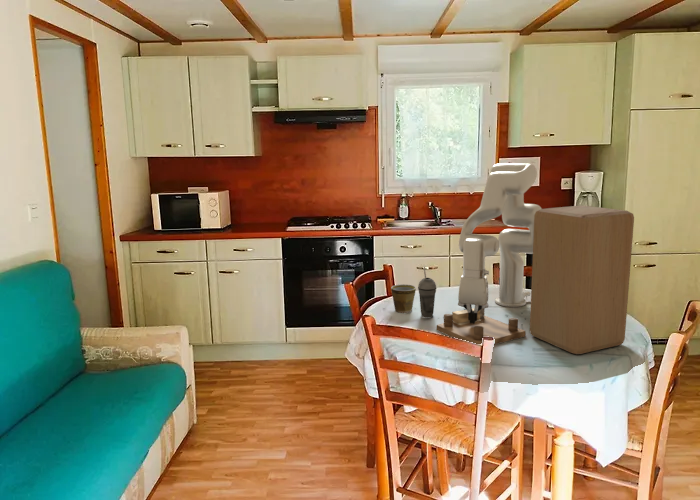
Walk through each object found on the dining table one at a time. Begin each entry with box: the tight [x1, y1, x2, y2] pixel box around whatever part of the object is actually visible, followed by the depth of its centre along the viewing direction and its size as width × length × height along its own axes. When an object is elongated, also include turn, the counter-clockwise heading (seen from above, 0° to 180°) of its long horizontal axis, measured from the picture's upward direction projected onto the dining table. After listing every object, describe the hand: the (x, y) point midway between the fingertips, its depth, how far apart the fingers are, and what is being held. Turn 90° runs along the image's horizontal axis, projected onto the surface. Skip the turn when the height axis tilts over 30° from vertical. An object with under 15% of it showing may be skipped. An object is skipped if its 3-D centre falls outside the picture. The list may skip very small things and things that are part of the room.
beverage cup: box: [417, 266, 438, 319], centre depth 213 cm, size 7×7×20 cm
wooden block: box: [529, 204, 635, 355], centre depth 181 cm, size 22×22×45 cm
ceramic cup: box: [390, 284, 417, 314], centre depth 223 cm, size 13×10×10 cm
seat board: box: [435, 308, 527, 345], centre depth 194 cm, size 22×22×6 cm
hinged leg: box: [451, 307, 480, 323], centre depth 202 cm, size 10×3×3 cm, turn 113°
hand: (472, 322), depth 196 cm, fingers closed
